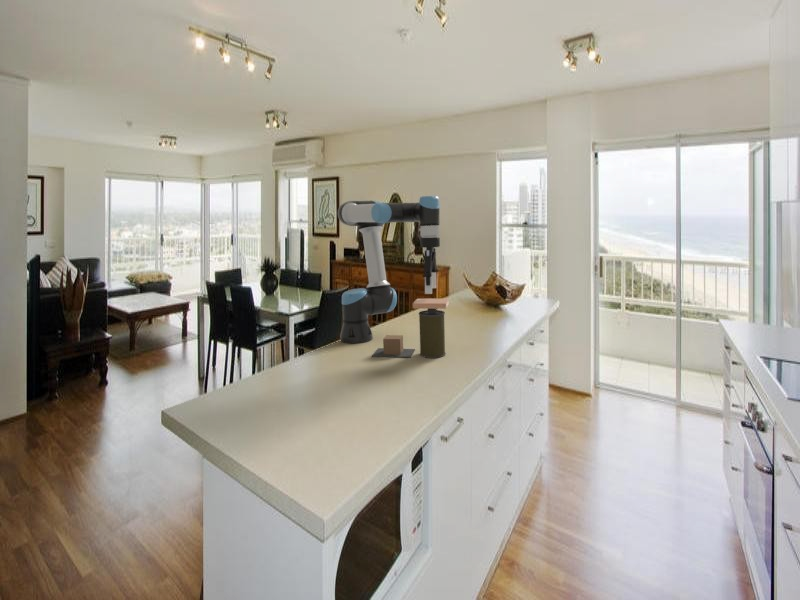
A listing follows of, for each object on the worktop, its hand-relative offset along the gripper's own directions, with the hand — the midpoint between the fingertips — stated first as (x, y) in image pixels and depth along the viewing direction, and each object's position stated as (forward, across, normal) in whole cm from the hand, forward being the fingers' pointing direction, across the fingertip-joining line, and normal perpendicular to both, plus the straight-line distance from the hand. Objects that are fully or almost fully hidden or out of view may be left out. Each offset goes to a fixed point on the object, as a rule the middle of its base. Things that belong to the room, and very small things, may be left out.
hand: (430, 290), depth 171 cm
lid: (+6, 0, 0) cm, 6 cm away
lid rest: (+26, +1, -16) cm, 31 cm away
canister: (+26, 0, 0) cm, 26 cm away
